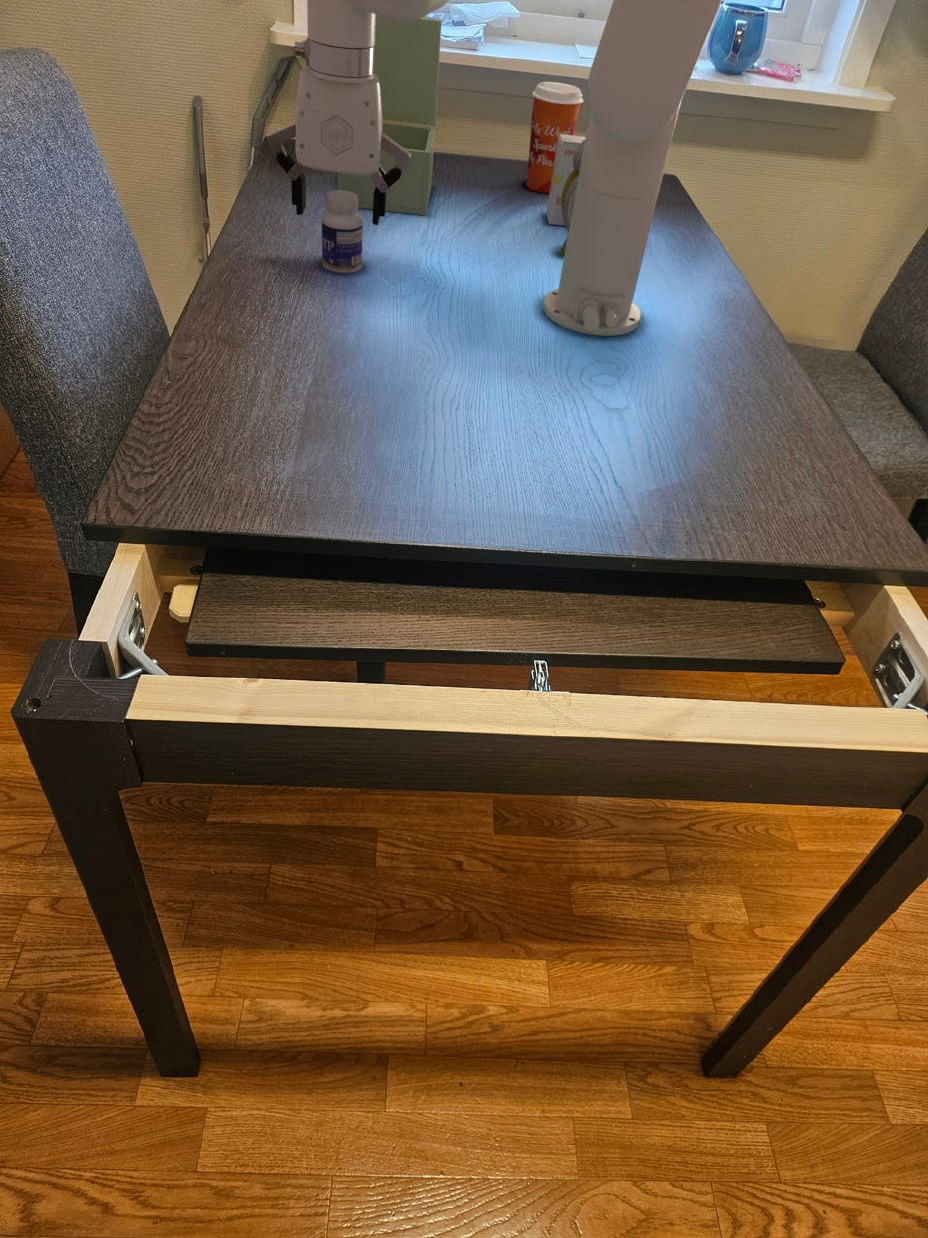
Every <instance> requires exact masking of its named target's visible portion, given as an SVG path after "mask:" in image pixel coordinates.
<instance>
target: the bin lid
mask: <svg viewBox="0 0 928 1238" xmlns="http://www.w3.org/2000/svg"><path fill="white" fill-rule="evenodd" d="M442 23H443V21H442V19H441V18H436V17H435V18H434V17H427V16H425V17H423V18H421V19H419V20H417V21H414V22H409V23H402V22H396V21H393V20H389V19H387V18H384V17H382V16H379V15H377V14H376V27H375V53H374V75H375V76H377V77H378V78H379V83H380V91H381V102H382V121H390V122H399V123H407V124H414V125H415V124H416V125H424V126H431V127H435V126H436V124H437V123H436V122H437V121H436V120H437V107H438V106H437V105H438V90H439V88H438V86H439V72H440V71H439V70H440V57H441V56H440V54H441V39H442Z"/></svg>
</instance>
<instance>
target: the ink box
mask: <svg viewBox="0 0 928 1238" xmlns="http://www.w3.org/2000/svg"><path fill="white" fill-rule="evenodd" d="M585 139H586V136H581V135H573V136H572V135H564V134H559V138H558V144H557V150H556V156H555V162H554V169H553V175H552V181H551V187H550V193H548V201H547V208H546V219H547V223H548V225H553V226H564V227H566V226H565V223H564V220H563V214H562V206H561V199H562V192H563V188H564V185H565V183H566V181H567V179H568V177H569V176H570V174H571V173H572V171H573V170H574V167H573V155H574V153H575V151H576V149H577V148H578V146H579V145H580V144H581V143H582V142H583V140H585Z"/></svg>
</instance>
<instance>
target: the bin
mask: <svg viewBox="0 0 928 1238" xmlns="http://www.w3.org/2000/svg"><path fill="white" fill-rule="evenodd" d="M382 132H383V133H384V134H385V135H387V136H388V137H390V138H391V139H392V140H394V141H395V142H396V143H398V144H399V145H400V146H402V147H403V148H405V149H406V150H407V151H409V152H410V154H411V158H410V161H409V163H408V165H407V167H406V168H405V170H404V172H403V173H402V175H401V177H400V179H399V180H397V181H396V182H395V183H394V184H393V185H392V186H391V187H389V188H388V189H387V191H386V210H385V212H392V213H402V214H410V215H419V216H427V213H428V212H427V211H428V208H429V201H430V195H431V189H432V179H433V165H434V164H433V163H434V150H435V149H434V148H435V132H436V128H435V127H434V128H433V127H427V126H418V125H410V124H401V123H395V122H386V121H382ZM396 162H397V160H396V158H395V157H394V156H392V155H391V154H389V153H388V152H387V151H385V150H384V149H382V157H381V161H380V165H381V167H382V168H383V170H384V171H385V173H387V172H388V171H390V170H391V169H392V168H393V167H394V166H395V164H396ZM336 176H337V177H336V179H337V180H336V182H337V183H336V184H337V189H336V191H338V190H340V191H349V192H352V193H354V194H356V195H357V196H358V209H366V210H373V196H374V190H375V187H376V185H375V184H374V182H373V181H372V179H371V178H370V176H359V175H351V174H343V173H337V175H336Z"/></svg>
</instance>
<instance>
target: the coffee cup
mask: <svg viewBox="0 0 928 1238" xmlns="http://www.w3.org/2000/svg"><path fill="white" fill-rule="evenodd" d="M581 90H582V89H580V88H579V87H578V86H575V85H573V84H572V85H571V84H568V83H564V82H563V83H562V82H555V81H540V82H539V83H537V84H536V86H535V88H534V91H532V93H531V94H532V96H533V101H532V113H531V124H530V139H529V150H528V161H527V172H526V173H527V174H526V176H527V177H526V187H527V188H528V189H530V190H532V191H535V192H538V193H543V194H550V187H551V181H552V175H553V169H554V162H555V156H556V150H557V144H558V138H559V134H564V135H572V136H574V135H575V134H574V133H575V128H576V125H577V124H576V123H577V120H578V114H579V111H580V106H581V104H583V103H584V99H583V94H582V91H581Z"/></svg>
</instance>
